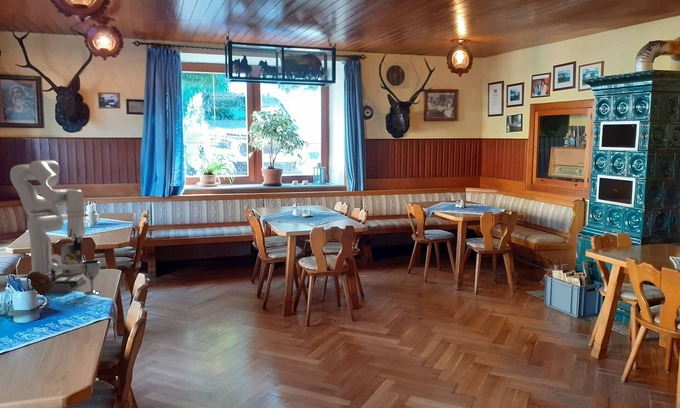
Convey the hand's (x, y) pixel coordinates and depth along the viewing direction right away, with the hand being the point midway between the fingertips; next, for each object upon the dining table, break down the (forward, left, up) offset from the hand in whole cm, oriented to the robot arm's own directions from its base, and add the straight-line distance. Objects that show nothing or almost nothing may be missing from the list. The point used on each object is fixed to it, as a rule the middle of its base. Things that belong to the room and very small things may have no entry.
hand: (77, 250), depth 263 cm
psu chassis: (+10, -4, -17) cm, 20 cm away
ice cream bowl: (+37, -1, -17) cm, 40 cm away
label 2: (+7, +1, -13) cm, 15 cm away
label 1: (+7, -5, -13) cm, 16 cm away
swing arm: (+7, -2, -9) cm, 11 cm away
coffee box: (-18, -11, -17) cm, 27 cm away
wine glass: (+19, +14, -17) cm, 29 cm away
